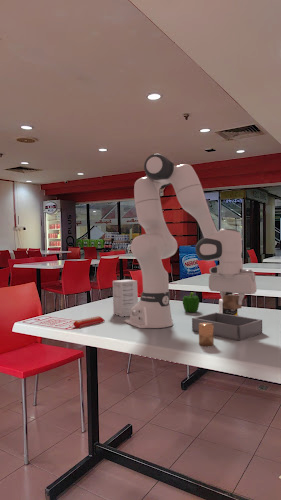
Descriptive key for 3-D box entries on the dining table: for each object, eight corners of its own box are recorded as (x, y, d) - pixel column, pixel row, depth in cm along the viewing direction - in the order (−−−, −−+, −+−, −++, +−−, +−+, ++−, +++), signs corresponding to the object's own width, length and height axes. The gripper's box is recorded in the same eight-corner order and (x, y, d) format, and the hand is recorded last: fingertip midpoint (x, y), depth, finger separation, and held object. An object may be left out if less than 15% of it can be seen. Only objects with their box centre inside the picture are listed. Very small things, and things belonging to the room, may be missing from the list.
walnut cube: (223, 308, 147) (223, 295, 147) (230, 306, 150) (230, 294, 150) (234, 309, 143) (233, 296, 143) (241, 307, 147) (241, 295, 147)
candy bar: (76, 329, 155) (76, 322, 155) (71, 328, 158) (71, 321, 158) (105, 322, 167) (105, 316, 167) (100, 321, 169) (100, 315, 169)
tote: (192, 330, 148) (192, 318, 147) (216, 324, 158) (216, 312, 158) (239, 340, 131) (238, 326, 131) (262, 332, 142) (262, 319, 142)
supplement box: (138, 314, 181) (138, 280, 181) (122, 317, 176) (121, 282, 176) (128, 311, 189) (128, 279, 189) (112, 314, 184) (112, 280, 184)
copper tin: (196, 344, 128) (195, 324, 128) (205, 341, 131) (204, 322, 131) (207, 347, 124) (207, 326, 124) (216, 344, 128) (216, 324, 127)
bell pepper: (182, 310, 191) (182, 290, 191) (198, 310, 190) (198, 290, 190) (183, 313, 183) (182, 293, 182) (199, 313, 182) (199, 293, 182)
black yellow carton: (222, 316, 173) (222, 291, 173) (218, 313, 180) (218, 289, 180) (237, 316, 174) (237, 290, 173) (233, 313, 181) (233, 288, 180)
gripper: (259, 269, 141) (260, 305, 141) (215, 267, 156) (216, 300, 156) (250, 270, 137) (251, 307, 137) (205, 268, 152) (206, 302, 152)
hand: (232, 303), depth 147 cm, fingers closed on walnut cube, 5 cm apart
